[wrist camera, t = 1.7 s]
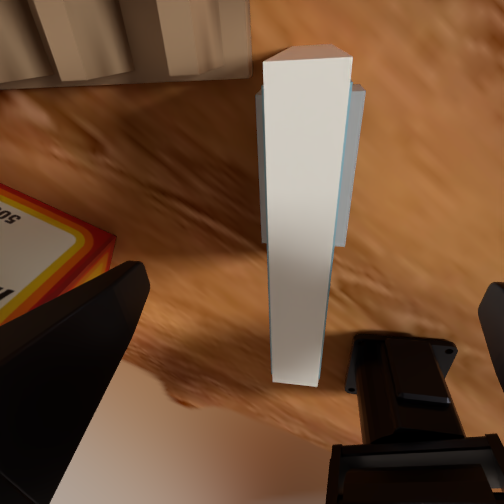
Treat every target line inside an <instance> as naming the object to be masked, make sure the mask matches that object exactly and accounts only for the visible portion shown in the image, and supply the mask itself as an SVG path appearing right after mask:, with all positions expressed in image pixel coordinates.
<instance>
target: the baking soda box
mask: <svg viewBox="0 0 504 504" xmlns="http://www.w3.org/2000/svg"><path fill="white" fill-rule="evenodd" d="M115 241H116V236H115V235H113V234H110V233H108V232H106V231H104V230H102V229H100V228H97V227H95V226H93V225H91V224H89V223H86V222H84V221H82V220H80V219H78V218H76V217H73V216H71V215H69V214H67V213H65V212H62V211H60V210H58V209H56V208H54V207H52V206H49V205H47V204H45V203H43V202H41V201H38V200H36V199H34V198H32V197H30V196H28V195H25V194H23V193H21V192H19V191H17V190H14V189H12V188H10V187H8V186H6V185H4V184H1V183H0V326H1V325H3V324H5V323H7V322H9V321H11V320H13V319H15V318H17V317H19V316H21V315H23V314H25V313H27V312H29V311H31V310H33V309H35V308H36V307H38V306H40V305H42V304H44V303H46V302H48V301H50V300H52V299H54V298H56V297H58V296H60V295H62V294H64V293H66V292H68V291H70V290H72V289H74V288H76V287H77V286H79V285H81V284H83V283H85V282H87V281H89V280H91V279H93V278H95V277H97V276H99V275H101V274H103V273H105V272H107V271H109V268H110V263H111V259H112V254H113V250H114V245H115Z"/></svg>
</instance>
